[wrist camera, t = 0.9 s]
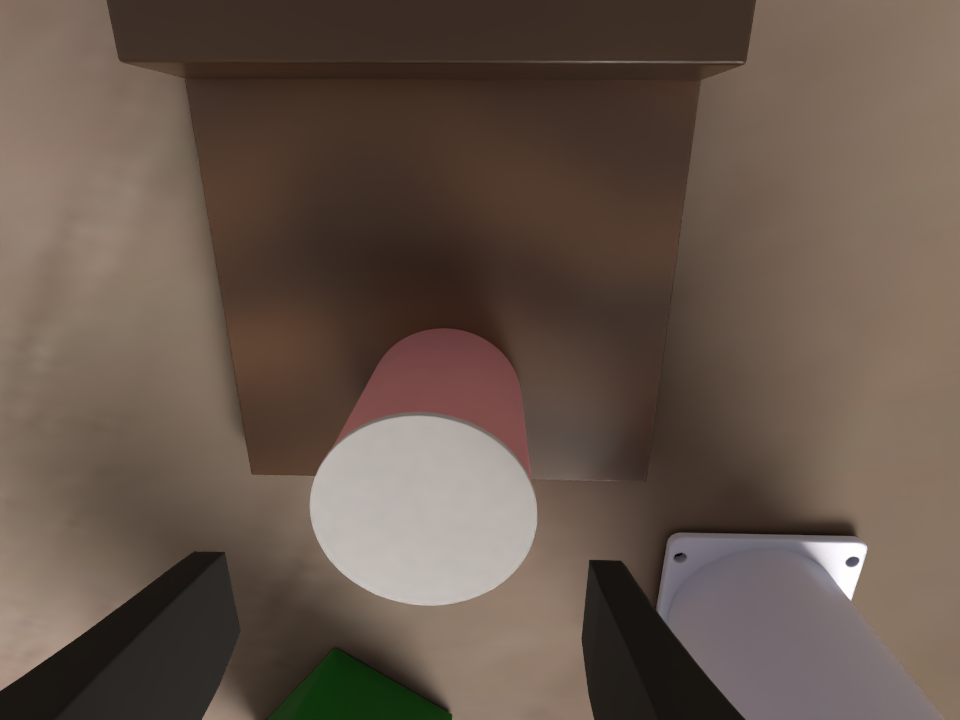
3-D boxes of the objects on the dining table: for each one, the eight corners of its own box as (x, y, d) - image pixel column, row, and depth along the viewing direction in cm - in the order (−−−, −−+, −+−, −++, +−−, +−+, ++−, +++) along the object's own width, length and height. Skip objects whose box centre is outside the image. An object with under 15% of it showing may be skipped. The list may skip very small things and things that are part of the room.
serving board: (638, 465, 21) (671, 535, 18) (263, 458, 22) (212, 525, 18) (694, 29, 16) (760, -11, 12) (196, 28, 16) (102, -11, 12)
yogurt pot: (520, 467, 20) (533, 608, 14) (373, 464, 20) (320, 603, 14) (525, 326, 18) (543, 417, 12) (363, 324, 18) (296, 413, 12)
